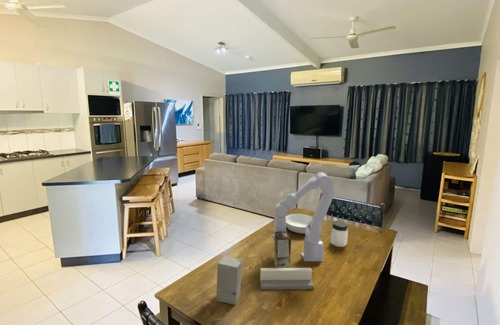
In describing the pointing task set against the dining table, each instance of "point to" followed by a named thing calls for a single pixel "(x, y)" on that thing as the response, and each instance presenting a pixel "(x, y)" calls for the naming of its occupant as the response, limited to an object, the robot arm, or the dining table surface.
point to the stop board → (286, 278)
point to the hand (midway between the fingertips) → (279, 252)
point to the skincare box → (229, 280)
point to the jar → (339, 233)
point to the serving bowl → (298, 222)
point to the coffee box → (282, 249)
